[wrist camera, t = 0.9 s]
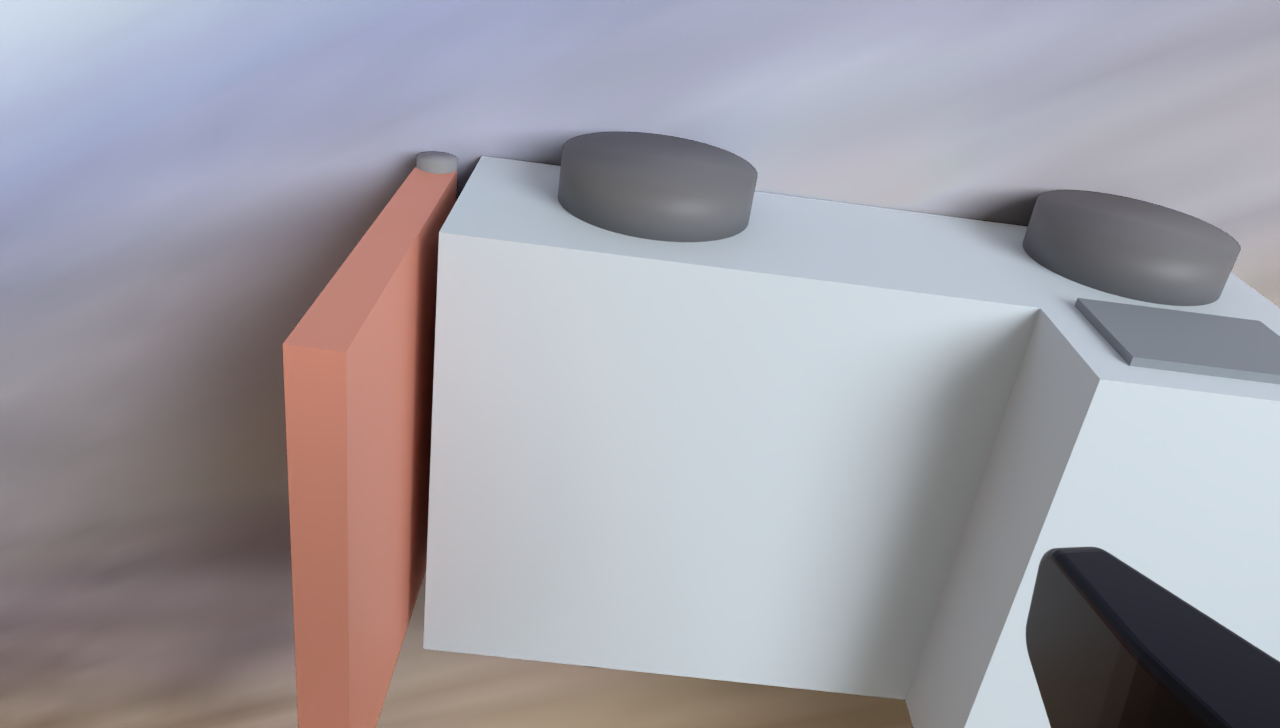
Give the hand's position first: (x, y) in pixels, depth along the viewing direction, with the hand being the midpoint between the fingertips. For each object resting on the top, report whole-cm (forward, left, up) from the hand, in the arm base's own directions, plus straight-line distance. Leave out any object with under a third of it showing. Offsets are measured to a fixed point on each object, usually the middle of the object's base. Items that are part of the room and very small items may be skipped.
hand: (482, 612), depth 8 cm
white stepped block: (-5, -6, -14) cm, 16 cm away
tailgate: (-5, +3, -13) cm, 14 cm away
